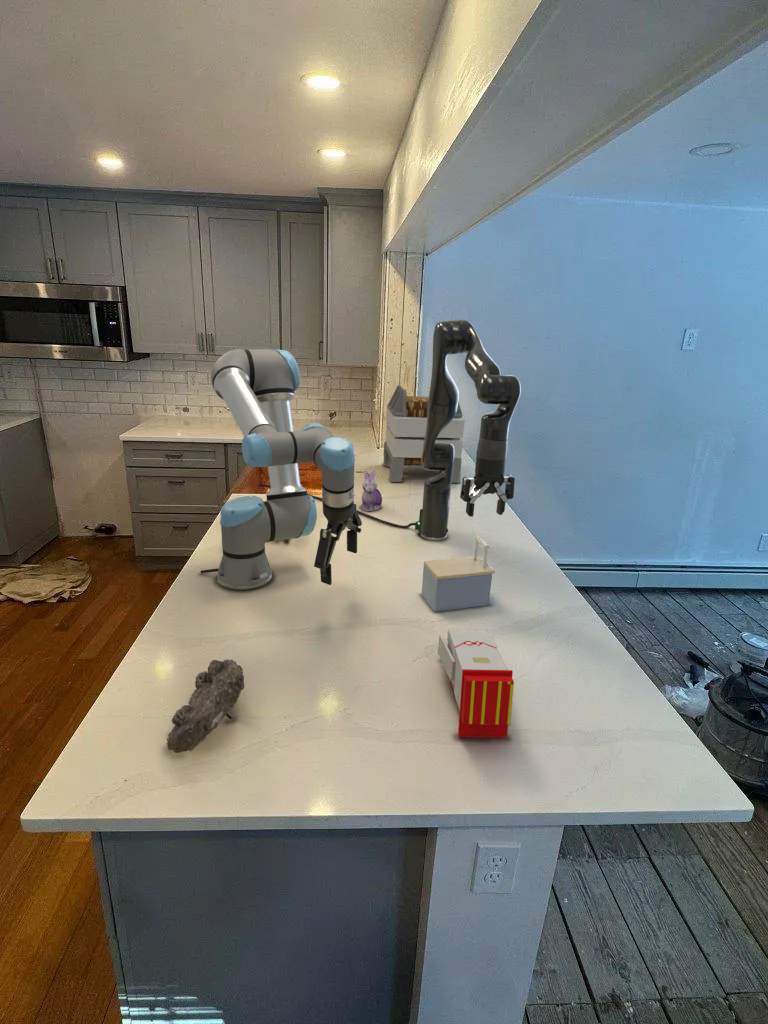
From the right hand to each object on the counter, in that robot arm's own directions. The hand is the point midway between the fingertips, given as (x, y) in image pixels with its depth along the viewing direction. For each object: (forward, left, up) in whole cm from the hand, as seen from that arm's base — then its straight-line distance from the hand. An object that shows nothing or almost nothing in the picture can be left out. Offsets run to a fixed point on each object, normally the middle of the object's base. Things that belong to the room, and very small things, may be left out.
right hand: (484, 514), depth 150 cm
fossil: (-17, -76, -24) cm, 82 cm away
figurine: (-66, +40, -24) cm, 81 cm away
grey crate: (-79, +97, -24) cm, 127 cm away
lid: (-4, -5, -15) cm, 16 cm away
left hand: (-27, -27, -14) cm, 41 cm away
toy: (+18, -38, -24) cm, 49 cm away
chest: (-4, -5, -24) cm, 25 cm away
